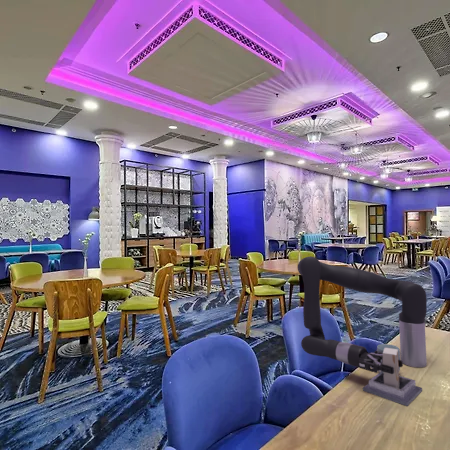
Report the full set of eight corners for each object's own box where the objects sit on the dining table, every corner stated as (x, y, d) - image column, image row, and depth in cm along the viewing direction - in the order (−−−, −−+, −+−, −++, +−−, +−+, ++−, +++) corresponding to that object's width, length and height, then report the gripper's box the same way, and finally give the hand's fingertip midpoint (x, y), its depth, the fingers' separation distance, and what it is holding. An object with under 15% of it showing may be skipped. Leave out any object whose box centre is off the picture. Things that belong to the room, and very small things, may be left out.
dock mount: (380, 377, 119) (379, 368, 120) (422, 390, 109) (421, 380, 109) (363, 390, 110) (362, 380, 110) (407, 406, 100) (406, 394, 100)
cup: (403, 378, 118) (402, 351, 118) (381, 377, 120) (380, 350, 120) (397, 370, 126) (395, 344, 126) (375, 368, 127) (374, 343, 128)
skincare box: (398, 392, 106) (396, 355, 106) (383, 389, 108) (382, 353, 108) (399, 384, 111) (398, 348, 112) (385, 381, 114) (384, 346, 114)
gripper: (341, 349, 116) (389, 362, 104) (359, 339, 125) (405, 350, 113) (342, 370, 116) (390, 385, 103) (360, 359, 125) (406, 372, 113)
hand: (398, 367), depth 108 cm, fingers open, 7 cm apart
